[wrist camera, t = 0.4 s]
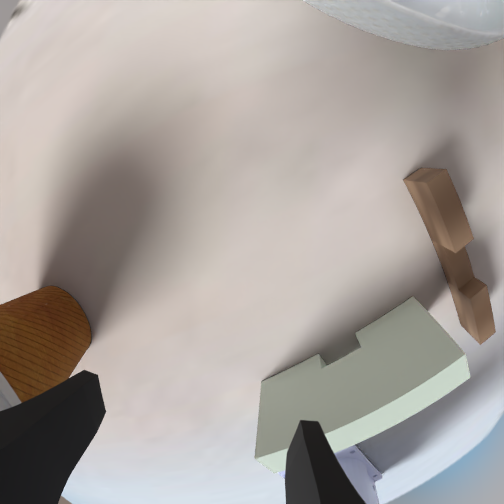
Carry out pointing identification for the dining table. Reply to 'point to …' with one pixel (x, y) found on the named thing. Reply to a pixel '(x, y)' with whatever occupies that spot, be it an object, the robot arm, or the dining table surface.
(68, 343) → the disposable coffee cup
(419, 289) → the dining table surface
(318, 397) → the sage slot plate
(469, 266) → the walnut slot board
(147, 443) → the dining table surface
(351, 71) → the dining table surface
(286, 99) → the dining table surface
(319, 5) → the cereal bowl
